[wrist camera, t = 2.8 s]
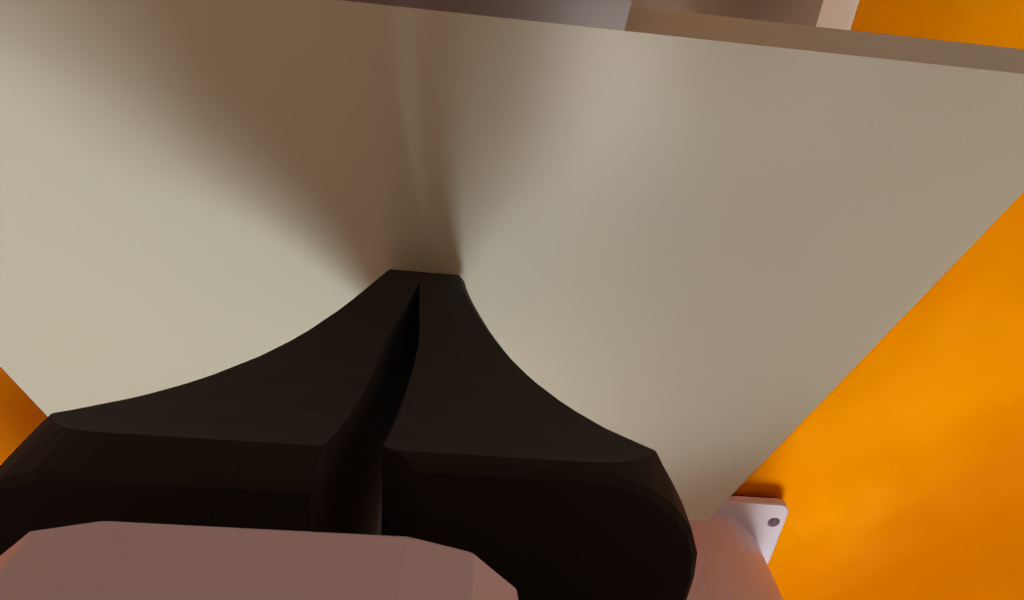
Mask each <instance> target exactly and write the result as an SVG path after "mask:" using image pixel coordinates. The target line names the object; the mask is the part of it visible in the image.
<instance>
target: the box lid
mask: <svg viewBox="0 0 1024 600" xmlns="http://www.w3.org/2000/svg"><path fill="white" fill-rule="evenodd" d="M631 3H632V0H0V367H1V368H2V369H3V370H4V371H5V372H6V373H7V374H8V375H9V376H10V377H11V379H12V380H13V381H14V382H15V383H16V384H17V385H18V386H19V387H20V388H21V389H22V390H23V391H24V392H25V393H26V394H27V395H28V396H29V398H30V399H31V400H32V401H33V402H34V403H35V404H36V405H37V406H38V407H39V408H40V409H41V410H42V411H43V412H44V413H45V414H46V415H47V417H48V416H49V415H50V414H51V413H56V412H62V411H68V410H73V409H79V408H84V407H89V406H94V405H99V404H104V403H109V402H114V401H119V400H124V399H129V398H133V397H138V396H142V395H146V394H150V393H154V392H157V391H161V390H165V389H168V388H172V387H176V386H179V385H183V384H186V383H189V382H192V381H195V380H198V379H202V378H205V377H208V376H211V375H213V374H216V373H218V372H221V371H224V370H226V369H229V368H231V367H234V366H236V365H239V364H241V363H244V362H246V361H249V360H251V359H254V358H257V357H259V356H261V355H263V354H265V353H267V352H269V351H271V350H273V349H275V348H277V347H279V346H281V345H283V344H285V343H287V342H289V341H291V340H293V339H295V338H296V337H298V336H300V335H302V334H303V333H305V332H307V331H308V330H310V329H311V328H313V327H314V326H316V325H317V324H319V323H320V322H322V321H323V320H325V319H326V318H328V317H329V316H331V315H332V314H334V313H335V312H337V311H338V310H340V309H341V308H342V307H343V306H345V305H346V304H347V303H349V302H350V301H351V300H352V299H354V298H355V297H356V296H357V295H359V294H360V293H361V292H362V291H363V290H365V289H366V288H367V287H368V286H369V285H371V284H372V283H373V282H374V281H375V280H377V279H378V278H379V277H380V276H382V275H383V274H384V273H385V272H387V271H388V270H389V269H392V270H404V271H417V272H429V273H441V274H454V275H459V276H460V277H461V278H462V279H463V280H464V281H465V286H466V289H467V292H468V294H469V296H470V298H471V300H472V302H473V304H474V306H475V308H476V310H477V312H478V313H479V315H480V317H481V318H482V320H483V321H484V323H485V325H486V326H487V328H488V329H489V331H490V332H491V334H492V335H493V337H494V338H495V339H496V341H497V342H498V343H499V345H500V346H501V347H502V348H503V350H504V351H505V352H506V354H507V355H508V356H509V357H510V358H511V359H512V361H513V362H514V363H515V364H516V365H518V366H519V367H520V368H521V369H522V370H523V371H524V372H525V373H526V374H527V375H528V376H529V377H530V378H531V379H532V380H534V381H535V382H536V383H537V384H538V385H540V386H541V387H542V388H544V389H545V390H546V391H547V392H549V393H550V394H551V395H553V396H554V397H555V398H557V399H558V400H559V401H561V402H562V403H564V404H565V405H567V406H568V407H570V408H571V409H573V410H575V411H576V412H578V413H579V414H581V415H583V416H585V417H586V418H588V419H590V420H592V421H593V422H595V423H597V424H599V425H600V426H602V427H604V428H606V429H608V430H610V431H613V432H615V433H617V434H619V435H621V436H624V437H626V438H628V439H630V440H633V441H635V442H637V443H639V444H642V445H644V446H646V447H648V448H650V449H653V450H655V451H656V452H657V454H658V456H659V458H660V460H661V462H662V464H663V466H664V468H665V470H666V471H667V473H668V475H669V477H670V479H671V481H672V483H673V485H674V487H675V489H676V491H677V493H678V495H679V497H680V499H681V501H682V504H683V506H684V509H685V512H686V514H687V517H688V520H695V521H707V520H708V519H709V518H710V517H711V516H712V515H713V514H714V513H715V512H716V511H717V510H718V509H719V508H720V507H721V506H722V505H723V504H724V502H725V501H726V500H727V499H728V498H729V497H730V496H731V495H732V494H733V493H734V492H735V491H736V490H737V489H738V488H739V487H740V486H741V485H742V484H743V483H744V482H745V481H746V480H747V479H748V478H749V476H750V475H751V474H752V473H753V472H754V471H755V470H756V469H757V468H758V467H759V466H760V465H761V464H762V463H763V462H764V461H765V460H766V459H767V458H768V457H769V456H770V455H771V454H772V453H773V452H774V451H775V449H776V448H777V447H778V446H779V445H780V444H781V443H782V442H783V441H784V440H785V439H786V438H787V437H788V436H789V435H790V434H791V433H792V432H793V431H794V430H795V429H796V428H797V427H798V426H799V425H800V424H801V422H802V421H803V420H804V419H805V418H806V417H807V416H808V415H809V414H810V413H811V412H812V411H813V410H814V409H815V408H816V407H817V406H818V405H819V404H820V403H821V402H822V401H823V400H824V399H825V398H826V397H827V395H828V394H829V393H830V392H831V391H832V390H833V389H834V388H835V387H836V386H837V385H838V384H839V383H840V382H841V381H842V380H843V379H844V378H845V377H846V376H847V375H848V374H849V373H850V372H851V371H852V370H853V368H854V367H855V366H856V365H857V364H858V363H859V362H860V361H861V360H862V359H863V358H864V357H865V356H866V355H867V354H868V353H869V352H870V351H871V350H872V349H873V348H874V347H875V346H876V345H877V344H878V343H879V341H880V340H881V339H882V338H883V337H884V336H885V335H886V334H887V333H888V332H889V331H890V330H891V329H892V328H893V327H894V326H895V325H896V324H897V323H898V322H899V321H900V320H901V319H902V318H903V317H904V316H905V314H906V313H907V312H908V311H909V310H910V309H911V308H912V307H913V306H914V305H915V304H916V303H917V302H918V301H919V300H920V299H921V298H922V297H923V296H924V295H925V294H926V293H927V292H928V291H929V290H930V289H931V287H932V286H933V285H934V284H935V283H936V282H937V281H938V280H939V279H940V278H941V277H942V276H943V275H944V274H945V273H946V272H947V271H948V270H949V269H950V268H951V267H952V266H953V265H954V264H955V263H956V262H957V260H958V259H959V258H960V257H961V256H962V255H963V254H964V253H965V252H966V251H967V250H968V249H969V248H970V247H971V246H972V245H973V244H974V243H975V242H976V241H977V240H978V239H979V238H980V237H981V236H982V235H983V233H984V232H985V231H986V230H987V229H988V228H989V227H990V226H991V225H992V224H993V223H994V222H995V221H996V220H997V219H998V218H999V217H1000V216H1001V215H1002V214H1003V213H1004V212H1005V211H1006V210H1007V209H1008V208H1009V206H1010V205H1011V204H1012V203H1013V202H1014V201H1015V200H1016V199H1017V198H1018V197H1019V196H1020V195H1021V194H1022V193H1023V192H1024V50H1023V49H1014V48H1005V47H996V46H987V45H978V44H969V43H960V42H951V41H942V40H933V39H924V38H914V37H905V36H896V35H887V34H878V33H869V32H860V31H851V30H842V29H833V28H824V27H815V26H806V25H797V24H788V23H779V22H770V21H761V20H752V19H743V18H734V17H725V16H716V15H706V14H697V13H688V12H679V11H670V10H661V9H652V8H643V7H634V6H631Z"/></svg>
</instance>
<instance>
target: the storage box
mask: <svg viewBox="0 0 1024 600" xmlns="http://www.w3.org/2000/svg"><path fill="white" fill-rule="evenodd" d="M858 4H859V0H632V3H631V6H634V7H643V8H652V9H661V10H670V11H679V12H688V13H697V14H706V15H716V16H725V17H734V18H743V19H752V20H761V21H770V22H779V23H788V24H797V25H806V26H815V27H824V28H833V29H842V30H850V29H851V26H852V23H853V20H854V16H855V13H856V10H857V7H858Z"/></svg>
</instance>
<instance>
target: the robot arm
mask: <svg viewBox="0 0 1024 600" xmlns="http://www.w3.org/2000/svg"><path fill="white" fill-rule="evenodd" d="M787 515H788V508H787V506H786V504H785V502H784V501H783V500H782V499H778V498H762V497H744V496H730V497H729V498H728V499H727V500H726V501H725V502H724V504H723V505H722V506H721V507H720V508H719V509H718V510H717V511H716V512H715V513H714V514H713V515H712V516H711V517H710V518H709V519H708V520H707V521H695V520H688V517H687V514H686V512H685V509H684V506H683V504H682V501H681V499H680V497H679V495H678V493H677V491H676V489H675V487H674V485H673V483H672V481H671V479H670V477H669V475H668V473H667V471H666V470H665V468H664V466H663V464H662V462H661V460H660V458H659V456H658V454H657V452H656V451H655V450H653V449H650V448H648V447H646V446H644V445H642V444H639V443H637V442H635V441H633V440H630V439H628V438H626V437H624V436H621V435H619V434H617V433H615V432H613V431H610V430H608V429H606V428H604V427H602V426H600V425H599V424H597V423H595V422H593V421H592V420H590V419H588V418H586V417H585V416H583V415H581V414H579V413H578V412H576V411H575V410H573V409H571V408H570V407H568V406H567V405H565V404H564V403H562V402H561V401H559V400H558V399H557V398H555V397H554V396H553V395H551V394H550V393H549V392H547V391H546V390H545V389H544V388H542V387H541V386H540V385H538V384H537V383H536V382H535V381H534V380H532V379H531V378H530V377H529V376H528V375H527V374H526V373H525V372H524V371H523V370H522V369H521V368H520V367H519V366H518V365H516V364H515V363H514V362H513V361H512V359H511V358H510V357H509V356H508V355H507V354H506V352H505V351H504V350H503V348H502V347H501V346H500V345H499V343H498V342H497V341H496V339H495V338H494V337H493V335H492V334H491V332H490V331H489V329H488V328H487V326H486V325H485V323H484V321H483V320H482V318H481V317H480V315H479V313H478V312H477V310H476V308H475V306H474V304H473V302H472V300H471V298H470V296H469V294H468V292H467V289H466V286H465V281H464V280H463V279H462V278H461V277H460V276H459V275H454V274H441V273H429V272H417V271H404V270H392V269H389V270H388V271H387V272H385V273H384V274H383V275H382V276H380V277H379V278H378V279H377V280H375V281H374V282H373V283H372V284H371V285H369V286H368V287H367V288H366V289H365V290H363V291H362V292H361V293H360V294H359V295H357V296H356V297H355V298H354V299H352V300H351V301H350V302H349V303H347V304H346V305H345V306H343V307H342V308H341V309H340V310H338V311H337V312H335V313H334V314H332V315H331V316H329V317H328V318H326V319H325V320H323V321H322V322H320V323H319V324H317V325H316V326H314V327H313V328H311V329H310V330H308V331H307V332H305V333H303V334H302V335H300V336H298V337H296V338H295V339H293V340H291V341H289V342H287V343H285V344H283V345H281V346H279V347H277V348H275V349H273V350H271V351H269V352H267V353H265V354H263V355H261V356H259V357H257V358H254V359H251V360H249V361H246V362H244V363H241V364H239V365H236V366H234V367H231V368H229V369H226V370H224V371H221V372H218V373H216V374H213V375H211V376H208V377H205V378H202V379H198V380H195V381H192V382H189V383H186V384H183V385H179V386H176V387H172V388H168V389H165V390H161V391H157V392H154V393H150V394H146V395H142V396H138V397H133V398H129V399H124V400H119V401H114V402H109V403H104V404H99V405H94V406H89V407H84V408H79V409H73V410H68V411H62V412H56V413H51V414H50V415H49V416H48V417H47V418H46V419H45V420H44V421H43V422H42V423H41V424H40V425H39V426H38V427H37V428H36V429H35V430H34V431H33V432H32V433H31V434H30V435H29V436H28V437H27V438H26V439H25V440H24V441H23V442H22V443H21V445H20V446H19V447H18V448H17V449H16V450H15V451H14V452H13V453H12V454H11V455H10V456H9V457H8V458H7V459H6V460H5V461H4V462H3V463H2V465H1V466H0V600H783V598H782V596H781V594H780V592H779V589H778V587H777V585H776V583H775V581H774V578H773V576H772V574H771V572H770V570H769V567H768V563H769V561H770V558H771V556H772V553H773V550H774V548H775V545H776V543H777V540H778V538H779V535H780V533H781V530H782V527H783V525H784V522H785V520H786V517H787ZM771 518H773V519H771ZM769 519H771V520H769Z"/></svg>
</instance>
